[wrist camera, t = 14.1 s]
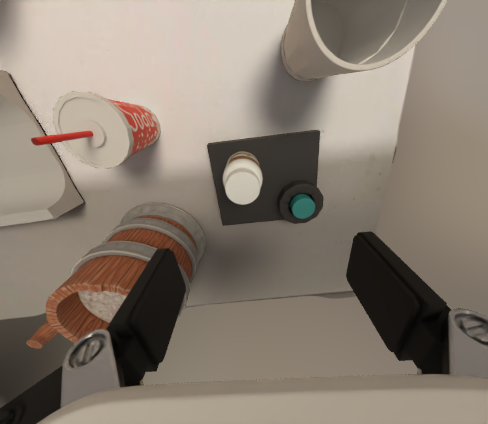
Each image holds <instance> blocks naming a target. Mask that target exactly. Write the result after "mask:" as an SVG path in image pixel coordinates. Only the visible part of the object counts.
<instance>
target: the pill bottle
mask: <svg viewBox="0 0 488 424" xmlns="http://www.w3.org/2000/svg"><path fill="white" fill-rule="evenodd" d="M262 180H263V178H262V172H261V169H260V165H259V162H258V160H257V159H256V157H255V156H254V155H252V154H251V153H248V152H237V153H235V154H233V155H232V156H231V157H230V158H229V160H228V161H227V164H226V167H225V170H224V173H223V184H224V187H225V191H226V194H227V196H228V198H229V199H230V200H231V201H232V202H234V203H236V204H241V205H244V204H249V203H251V202H253V201H254V200H255V199H256V198H257V197H258V195H259V193H260V188H261V185H262Z"/></svg>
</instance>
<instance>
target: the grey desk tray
mask: <svg viewBox="0 0 488 424" xmlns="http://www.w3.org/2000/svg"><path fill="white" fill-rule="evenodd" d="M42 136H45V134H44V132H43V131H42V129H41V127H40V126H39V124H38V123H37V121H36V119H35V118H34V116H33V115H32V113H31V112H30V110H29V108H28V107H27V105H26V104H25V102H24V101H23V99H22V98H21V96H20V94H19V92H18V90H17V89H16V87H15V85H14V83H13V82H12V80H11V78H10V76H9V74H8V73H7V71H2V70H0V227H1V226H8V225H15V224H22V223H29V222H36V221H43V220H50V219H55V218H57V217H59V216H60V215H62V214H64V213H66V212H68V211H69V210H71V209H73V208H75V207H77V206H78V205H80V204H82V203H84V201H83V200H82V198H81V196H80V195H79V193H78V192H77V190H76V189H75V187H74V185H73V183H72V181H71V179H70V178H69V176H68V174H67V172H66V170H65V168H64V166H63V164H62V163H61V161H60V159H59V158H58V156H57V154H56V153H55V151H54V149H53V147H52V146H51V144H44V145H38V146H36V145H34V144H33V143H32V141H31V138H34V137H42Z"/></svg>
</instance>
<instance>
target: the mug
mask: <svg viewBox="0 0 488 424" xmlns="http://www.w3.org/2000/svg"><path fill="white" fill-rule="evenodd" d="M205 247H206V241H205V237H204V233H203V231H202V229H201V227H200V226H199V224H198V223H197V222H196V221H195V220H194V219H193V218H192V217H191V216H190V215H189V214H187V213H186V212H184V211H183V210H181V209H179V208H176V207H174V206H171V205H167V204H163V203H147V204H142V205H139V206H136V207H134V208H133V209H131V210H130V211H128V212H127V213H126V214H125V216H124V217H123V219H122V221H121V224H119V225H118V226H117V227H116V228H115V229H114V230H112V231H111V232H110V233H109V234H108V235H107V236H106V237H105V239H104V240H103V242H102V244H101V245H99V246H97V247H95V248H93V249H91V250H90V251H89V252H88V253H87V254H86V255H85V256H84V257H83V258H82V259H80V260H79V261H78V262H77V263H76V264H75V265H74V267H73V269H72V271H71V273H70V278H69V279H68V280H67V281H66V282H65V283H63V284H62V285H61V286H60V287H59V288H58V289H57V290H56V291H55V292H54V293H53V294H52V295H51V296H50V297H49V298H48V301H47V303H46V315H47V321H46V322H45V324H43V325H42V326H41V327H40V328H39V329H38V330H37V332H36V333H35V334H34V335H33V336H32V337H31V338H30V339H29V340H28V341H27V344H28V345H29V346H31V347H33V348H41V347H42V346H43V345H44V344H45V343H47V342H48V341H49V340H50V339H51V338H53V337H54V336H55V335H56V334H58V332H59V333H61V334H62V335H63V336H65V337H66V338H67V339H69V340H71V341H72V342H74V343H76V342H77V341H78V340H79V339H80V338H82V337H83V336H85V335H86V334H88V333H90V332H92V331H94V330H98V329H105V330H106V329H107V327H108V326H109V323H110V322H111V320H112V319H113V317H114V316H115V314H116V312H117V311H118V309H119V308H120V306H121V305H122V303H123V301H124V300H125V298H126V297H127V295H128V294H129V292H130V290H131V289H132V287H133V286H134V284H135V283H136V281H137V279H138V278H139V276H140V275H141V273H142V272H143V270H144V268H145V267H146V265H147V264H148V262H149V261H150V259H151V258H152V256H153V254H154V253H155V251H156V250H157V249H164V248H169V249H170V250H171V251H173V252H174V254H175V257H176V260H177V262H178V265H179V268H180V271H181V274H182V276H183V279H184V282H185V285H186V293H185V296H184V299H183V302H182V305H181V308H180V311H179V314H178V317H179V316H180V315H181V313H182V312H183V310H184V309H185V306H186V302H187V299H188V295H189V291H190V286H189V284H190V283H191V281H192V280H193V278H194V275H195V272H196V269H197V265H198V262H199V260H200V259H201V258H202V256H203V254H204V251H205ZM178 317H177V318H178Z"/></svg>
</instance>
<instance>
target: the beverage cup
mask: <svg viewBox="0 0 488 424" xmlns="http://www.w3.org/2000/svg"><path fill="white" fill-rule="evenodd" d="M53 124H54V127H55V130H56V132H57V135H50V136H42V137H34V138H31V141H32V143H33V144H34V145H36V146H38V145H44V144H50V143H56V142H62V143H63V145H64V146H65V147H66V149H67V150H68V152H70V153H71V154H72V155H73V156H75V157H76V158H77V159H78V160H80V161H81V162H83V163H85V164H88V165H90V166H92V167H95V168H106V169H109V168H112V167H115V166H117V165H120V164H122V163H124V162H125V161H126V160H127V158H128V157H129V156H131V155H133V154H134V153H136V152H138V151H140V150H142V149H144V148H145V147H147V146H149V145H151V144H153V143H155V141H156V140H157V139H158V138H159V135H160V124H159V122H158V120H157V118H156V116H155V115H154V114H153V113H152V112H151V111H150V110H149V109H147V108H145V107H143V106H139V105H134V104H129V103H124V102H119V101H114V100H108V99H105V98H103V97H101V96H99V95H97V94H93V93H89V92H76V91H72V92H70V93H68V94H66V95H64V96H61V97H60V98H59V100H58V102H57V103H56V105H55V107H54V110H53Z"/></svg>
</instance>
